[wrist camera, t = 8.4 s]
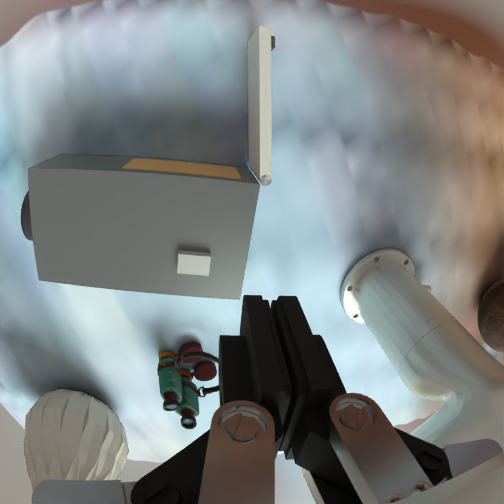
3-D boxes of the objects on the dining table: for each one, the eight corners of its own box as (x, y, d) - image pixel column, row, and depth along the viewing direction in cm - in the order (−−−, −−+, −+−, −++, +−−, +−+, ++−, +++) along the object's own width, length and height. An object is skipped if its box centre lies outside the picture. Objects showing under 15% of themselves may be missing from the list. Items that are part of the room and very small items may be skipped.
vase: (44, 355, 42) (-8, 511, 15) (147, 402, 49) (141, 560, 22) (33, 407, 48) (2, 526, 21) (116, 443, 55) (108, 562, 28)
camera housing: (248, 167, 34) (261, 186, 27) (232, 263, 39) (240, 304, 32) (45, 153, 30) (6, 170, 22) (49, 246, 35) (19, 281, 27)
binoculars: (245, 413, 39) (182, 437, 38) (230, 363, 48) (176, 386, 48) (215, 378, 35) (145, 405, 34) (204, 325, 44) (146, 352, 44)
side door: (264, 169, 34) (279, 185, 28) (248, 169, 34) (260, 185, 28) (264, 42, 28) (280, 27, 21) (247, 42, 28) (259, 26, 21)
